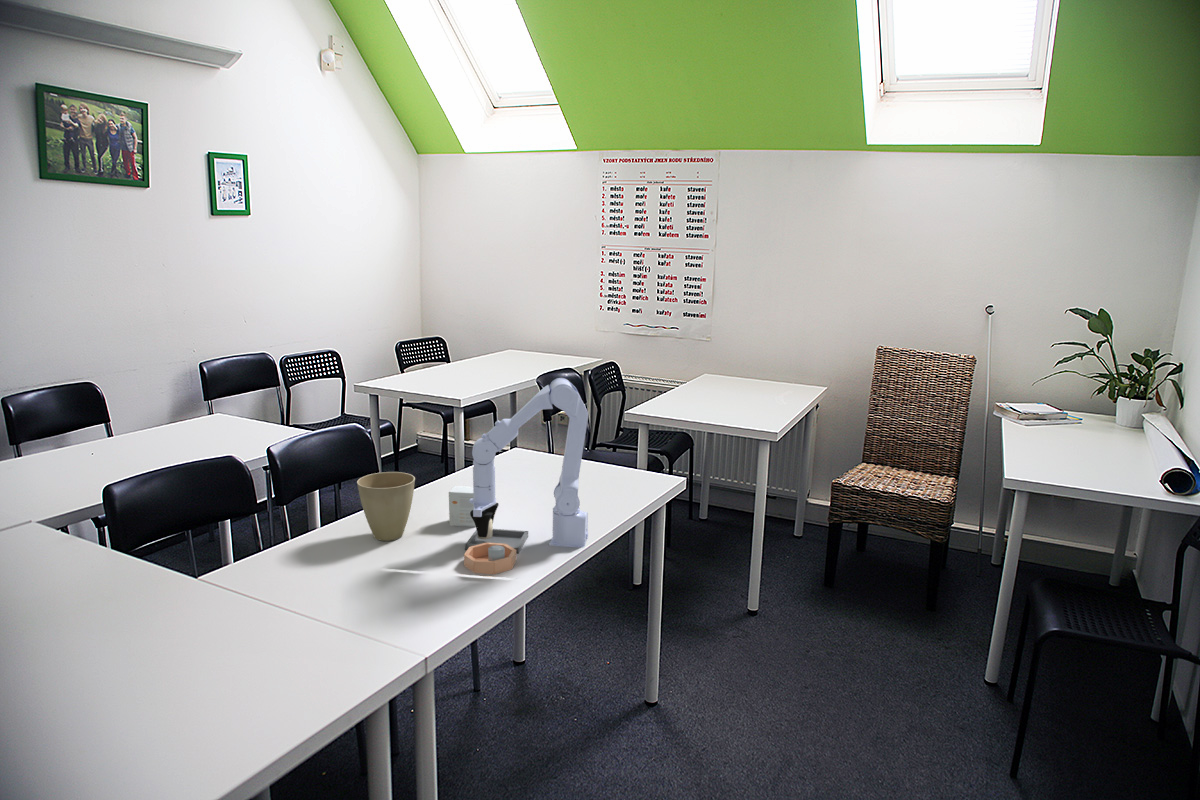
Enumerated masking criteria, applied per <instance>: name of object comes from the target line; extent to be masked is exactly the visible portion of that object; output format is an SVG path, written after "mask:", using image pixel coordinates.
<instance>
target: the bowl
mask: <svg viewBox="0 0 1200 800" xmlns="http://www.w3.org/2000/svg"><path fill="white" fill-rule="evenodd" d="M495 545H499V546H503V547H504V548H505V558H503V559H499V560H495V561H488V548H489V547H491V546H495ZM516 562H517V554H516V549H514V548H512V547H511V546H509V545H507V544H502V543H488V542H487V543H483V544H479V545H475V546H471V547H469V548H468V550H465V553H464V554H463V566H464V567H465V568H466V569H468V570H469V571H471V572H472V573H474V574H481V576H483V577H484V576H487V575H496V574H501V573H504V572H507V571H510V570H512V569H513V568H514V566H515V564H516ZM483 574H485V575H483ZM486 574H487V575H486Z"/></svg>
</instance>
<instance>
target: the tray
mask: <svg viewBox="0 0 1200 800" xmlns="http://www.w3.org/2000/svg"><path fill="white" fill-rule="evenodd" d="M528 538H529V530H516V529H504V528H502V529H501V528H493V537H492V538H490V539H479V538H478V537H477V529H475V530H474V532H473V533H472V535H471V536H470V537H469V538H468V540H467V542H466V543H465V546H464V548H465V549H464V550H465V551H467V550H468V548H469V547H471V546H475V545H479V544H483V543H487V542H488V543H502V544H507V545H509V546H511V547H512V548H514V549H516V555H519V554H520V552H521V550H522V548H523V546H524V545H525V543H526V541H527V540H528Z"/></svg>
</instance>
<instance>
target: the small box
mask: <svg viewBox="0 0 1200 800" xmlns="http://www.w3.org/2000/svg"><path fill="white" fill-rule="evenodd" d="M471 498H473V486H467V485H466V486H464V485H454V486H453V487H452V488H451V489H450V490H449V491H448V510H449V511H448V512H449V513H448V514H449V515H448V516H449V520H448V521H449V526H452V527H453V526H455V527H456V526H457V527H472V528H476V526H475V523H474V521H473V519H472V517H471V516H470V512H471V511H472V510H473V509H474V507H473V504H472V503H469V500H470V499H471Z"/></svg>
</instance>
